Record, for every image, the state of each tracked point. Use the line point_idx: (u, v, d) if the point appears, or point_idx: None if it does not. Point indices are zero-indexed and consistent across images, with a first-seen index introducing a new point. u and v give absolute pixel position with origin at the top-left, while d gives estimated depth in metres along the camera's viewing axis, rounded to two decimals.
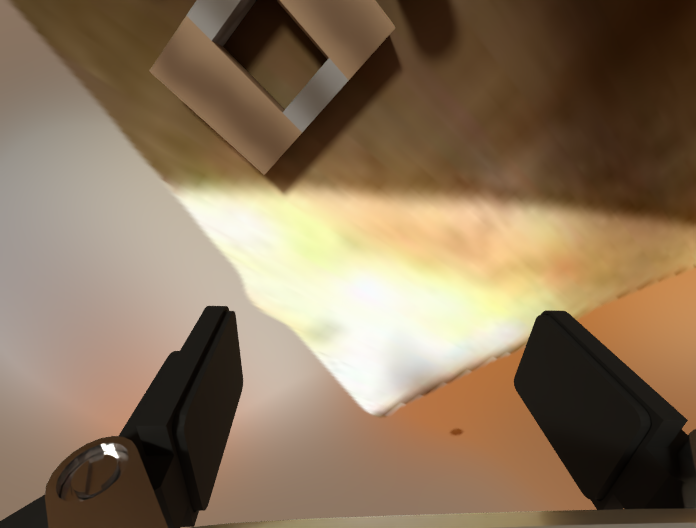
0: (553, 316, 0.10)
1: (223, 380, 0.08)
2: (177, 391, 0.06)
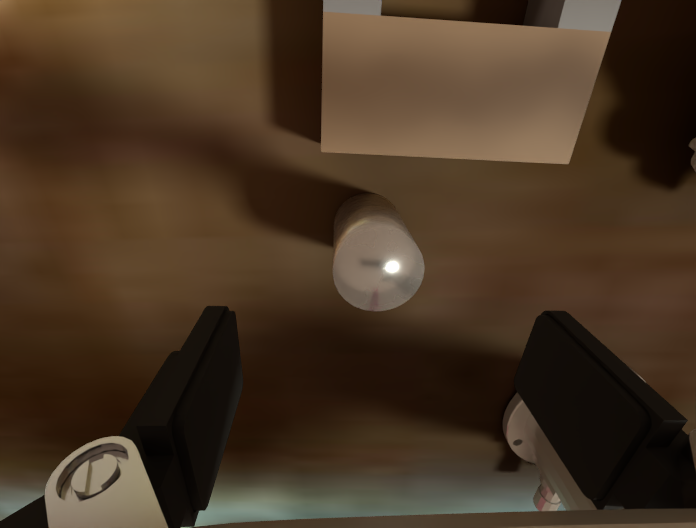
0: (553, 316, 0.10)
1: (223, 380, 0.08)
2: (177, 391, 0.06)
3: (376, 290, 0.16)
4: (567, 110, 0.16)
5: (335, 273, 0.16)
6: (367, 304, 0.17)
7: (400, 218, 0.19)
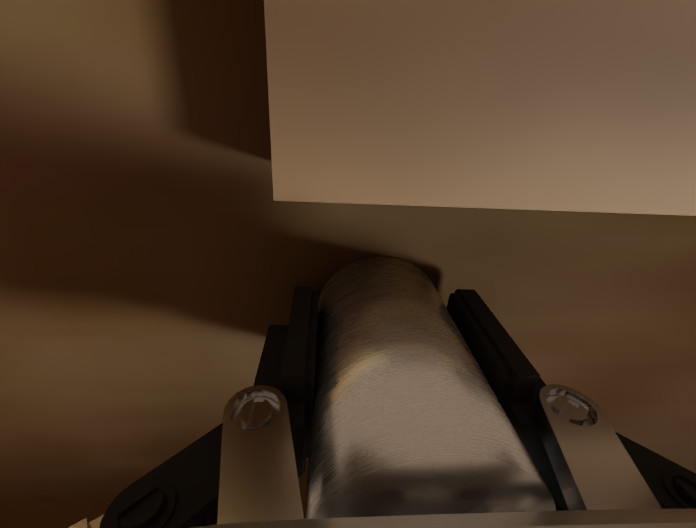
0: (461, 294, 0.10)
1: None
2: (301, 351, 0.08)
3: None
4: None
5: None
6: None
7: (457, 331, 0.09)
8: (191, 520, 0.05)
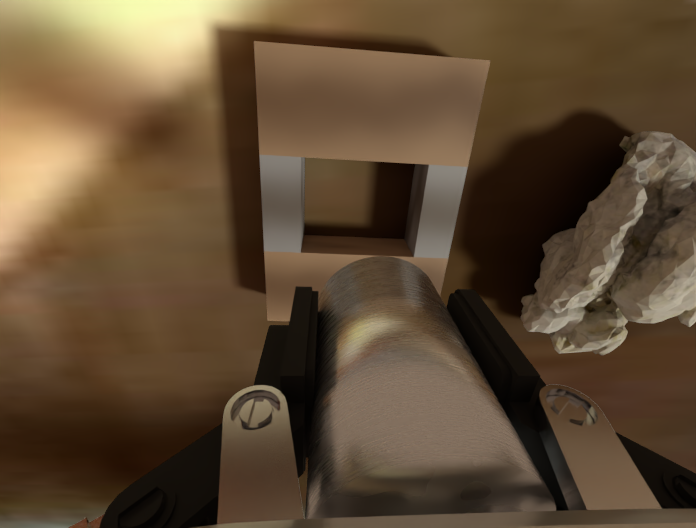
0: (461, 294, 0.10)
1: None
2: (301, 351, 0.08)
3: None
4: None
5: None
6: None
7: (457, 331, 0.09)
8: (191, 520, 0.05)
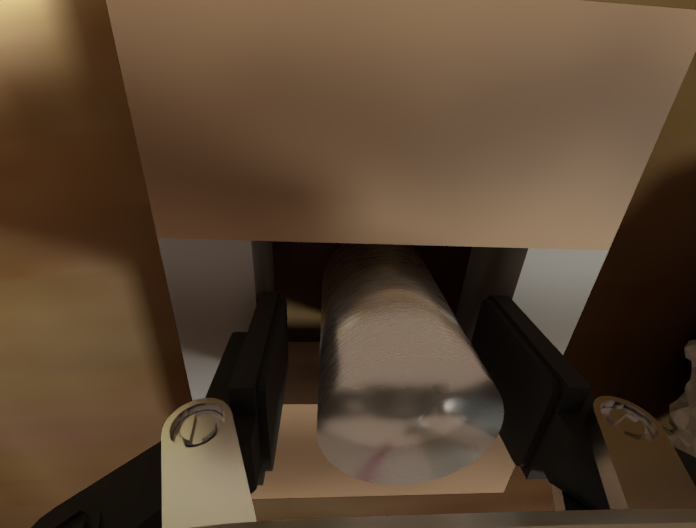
0: (495, 300, 0.10)
1: (280, 358, 0.09)
2: (255, 361, 0.07)
3: (403, 455, 0.08)
4: (497, 457, 0.14)
5: (322, 433, 0.08)
6: (385, 476, 0.09)
7: (438, 289, 0.11)
8: None
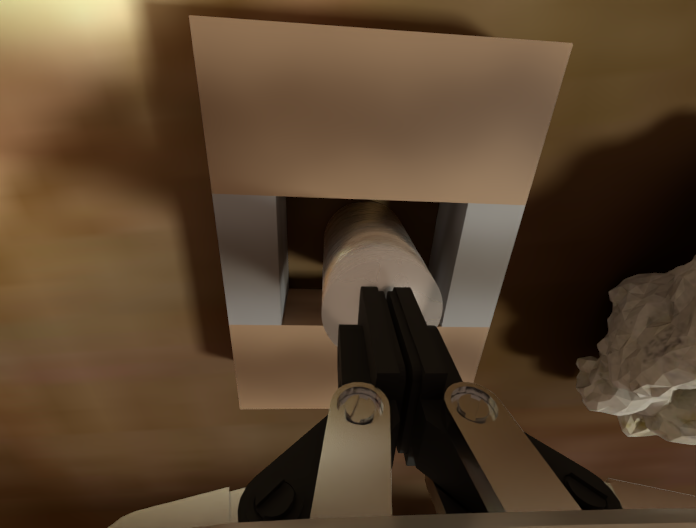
0: (396, 291, 0.10)
1: None
2: (388, 349, 0.08)
3: None
4: None
5: (324, 315, 0.12)
6: None
7: (407, 235, 0.15)
8: None
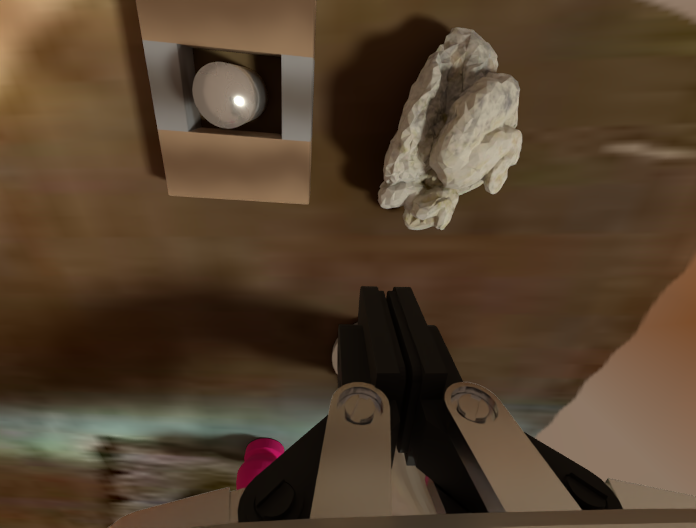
0: (396, 291, 0.10)
1: None
2: (388, 349, 0.08)
3: (224, 110, 0.25)
4: (299, 177, 0.31)
5: (194, 95, 0.24)
6: (220, 122, 0.25)
7: (253, 75, 0.27)
8: None
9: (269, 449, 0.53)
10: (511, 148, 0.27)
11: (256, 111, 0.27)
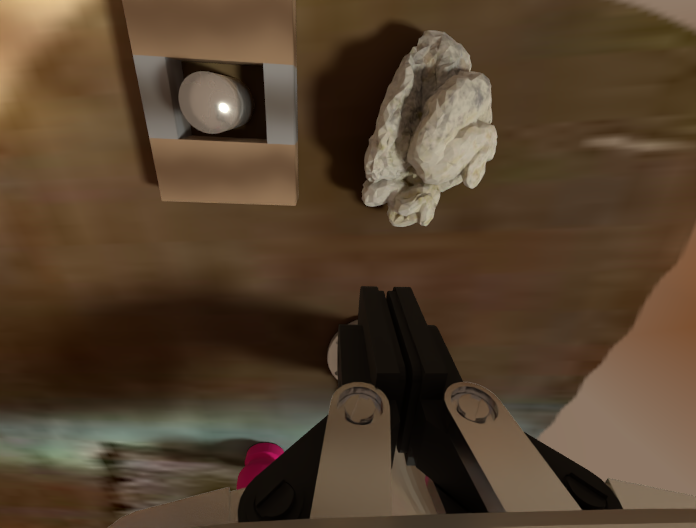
0: (396, 291, 0.10)
1: None
2: (388, 349, 0.08)
3: (209, 117, 0.26)
4: (285, 179, 0.32)
5: (180, 104, 0.26)
6: (205, 128, 0.27)
7: (238, 84, 0.29)
8: None
9: (269, 453, 0.53)
10: (485, 143, 0.28)
11: (240, 117, 0.28)
